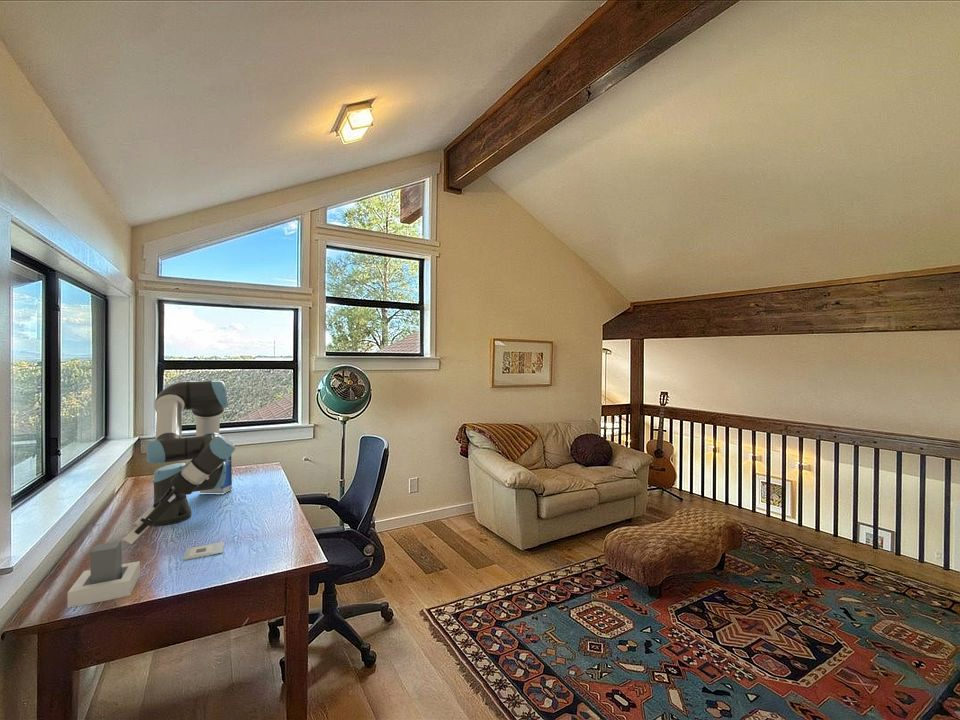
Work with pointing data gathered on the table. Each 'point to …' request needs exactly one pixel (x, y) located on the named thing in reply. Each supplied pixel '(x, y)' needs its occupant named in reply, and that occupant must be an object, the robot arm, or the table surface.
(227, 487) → the string lights box
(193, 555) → the card
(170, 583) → the table surface
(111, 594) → the socket base
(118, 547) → the charcoal pillar
